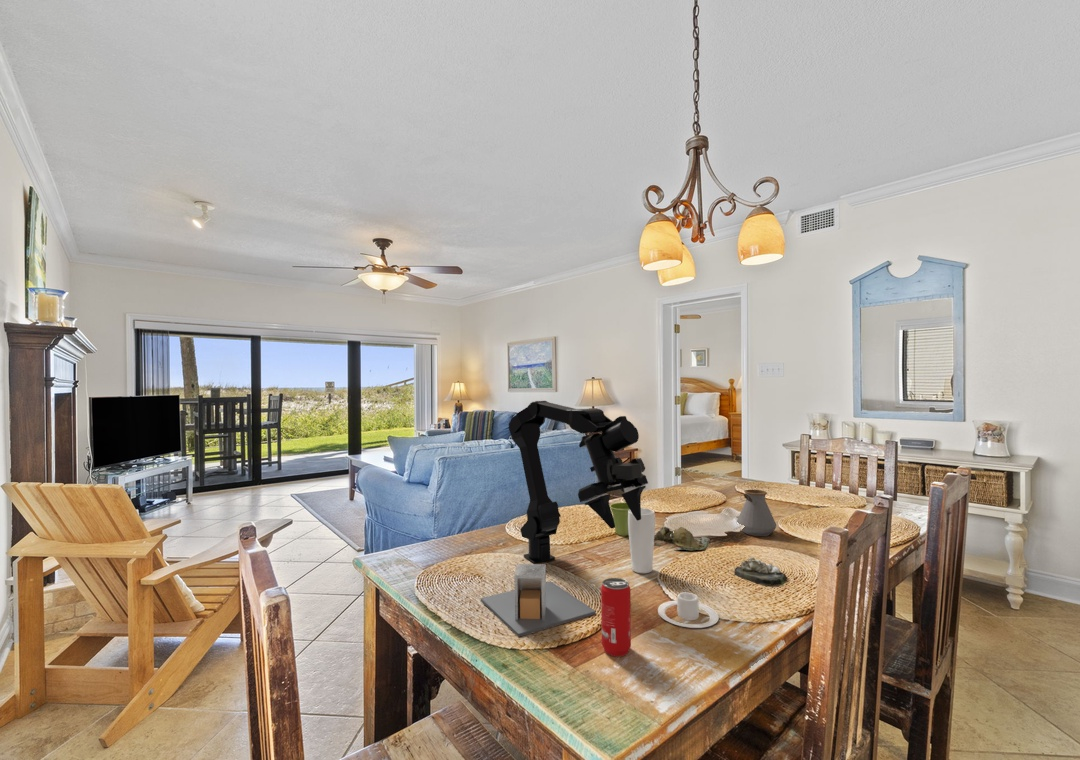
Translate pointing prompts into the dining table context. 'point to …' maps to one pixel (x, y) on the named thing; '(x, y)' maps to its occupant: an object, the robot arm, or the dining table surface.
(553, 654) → the dining table surface
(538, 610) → the orange block
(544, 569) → the steel cover
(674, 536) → the olive green lumpy piece
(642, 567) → the drinking glass
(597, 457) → the robot arm
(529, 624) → the slate board
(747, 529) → the coffee pot
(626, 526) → the plant pot
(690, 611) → the candle holder
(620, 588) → the beverage can
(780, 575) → the stone carving
